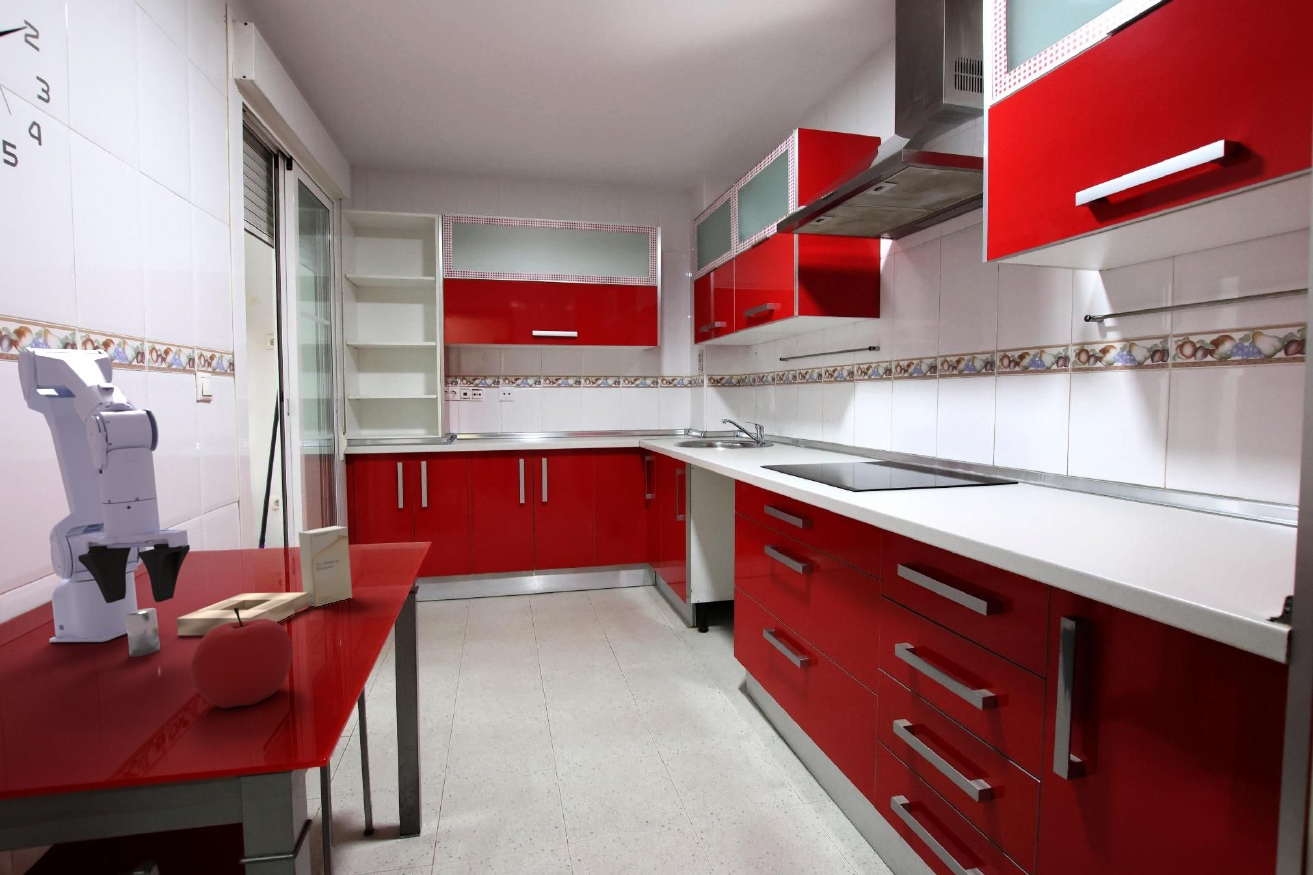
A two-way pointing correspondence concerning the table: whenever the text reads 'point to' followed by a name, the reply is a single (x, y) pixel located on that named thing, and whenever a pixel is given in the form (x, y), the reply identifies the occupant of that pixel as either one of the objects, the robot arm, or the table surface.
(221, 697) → the apple
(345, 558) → the skincare box
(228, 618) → the wooden square frame
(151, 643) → the grey block
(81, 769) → the table surface
